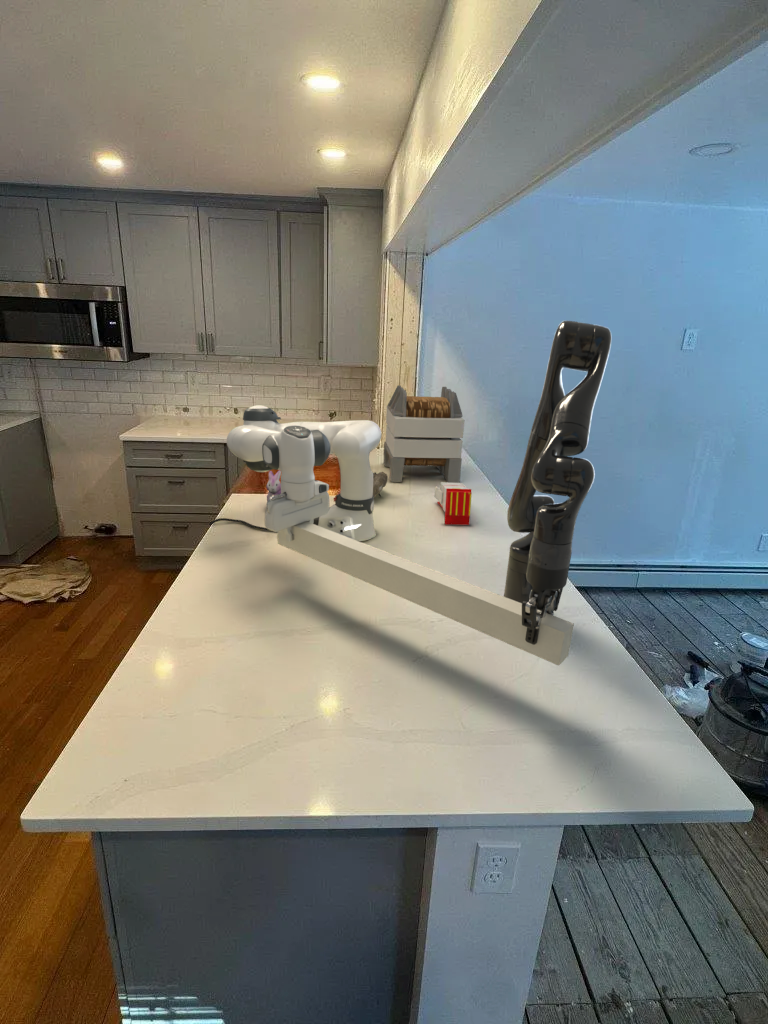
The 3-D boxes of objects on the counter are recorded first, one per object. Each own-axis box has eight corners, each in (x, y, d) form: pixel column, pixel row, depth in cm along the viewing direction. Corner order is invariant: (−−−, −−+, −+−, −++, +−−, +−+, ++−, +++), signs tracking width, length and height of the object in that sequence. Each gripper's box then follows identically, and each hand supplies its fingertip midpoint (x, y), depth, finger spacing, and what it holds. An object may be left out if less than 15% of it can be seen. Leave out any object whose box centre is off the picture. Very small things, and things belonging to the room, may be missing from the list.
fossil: (356, 478, 247) (383, 459, 242) (370, 494, 250) (397, 476, 245) (349, 499, 228) (378, 479, 223) (363, 516, 230) (393, 497, 225)
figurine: (269, 514, 212) (268, 475, 207) (262, 505, 221) (260, 468, 216) (293, 511, 217) (293, 473, 212) (285, 503, 225) (284, 466, 220)
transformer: (382, 463, 289) (386, 382, 275) (445, 464, 293) (451, 384, 279) (390, 482, 257) (394, 392, 243) (460, 483, 261) (468, 394, 247)
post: (277, 543, 157) (276, 518, 154) (289, 539, 160) (289, 514, 158) (558, 666, 108) (564, 632, 106) (568, 656, 112) (574, 623, 109)
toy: (462, 478, 235) (476, 490, 206) (460, 509, 238) (473, 526, 208) (433, 477, 234) (442, 489, 205) (431, 509, 237) (440, 525, 208)
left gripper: (274, 500, 140) (276, 551, 144) (333, 483, 155) (332, 530, 159) (258, 494, 143) (260, 544, 148) (317, 478, 158) (317, 524, 163)
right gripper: (551, 578, 99) (538, 660, 105) (583, 554, 110) (569, 630, 116) (513, 565, 104) (502, 644, 110) (547, 543, 114) (535, 616, 120)
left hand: (298, 537), depth 154 cm, fingers closed on post, 4 cm apart
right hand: (536, 636), depth 113 cm, fingers closed on post, 4 cm apart
